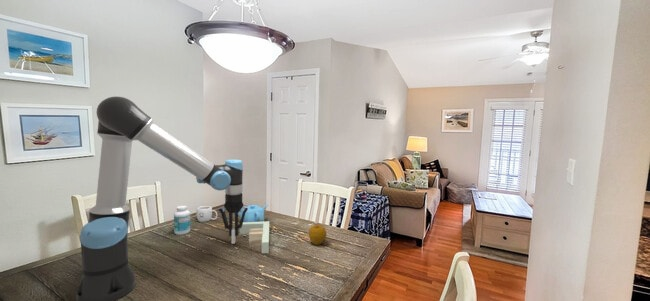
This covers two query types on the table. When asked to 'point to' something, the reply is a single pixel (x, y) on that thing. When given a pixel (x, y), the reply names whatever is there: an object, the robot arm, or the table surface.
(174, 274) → the table surface
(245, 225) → the fence
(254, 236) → the maple block
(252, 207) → the teapot
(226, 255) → the table surface
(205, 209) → the mug
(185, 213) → the pill bottle
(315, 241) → the apple
